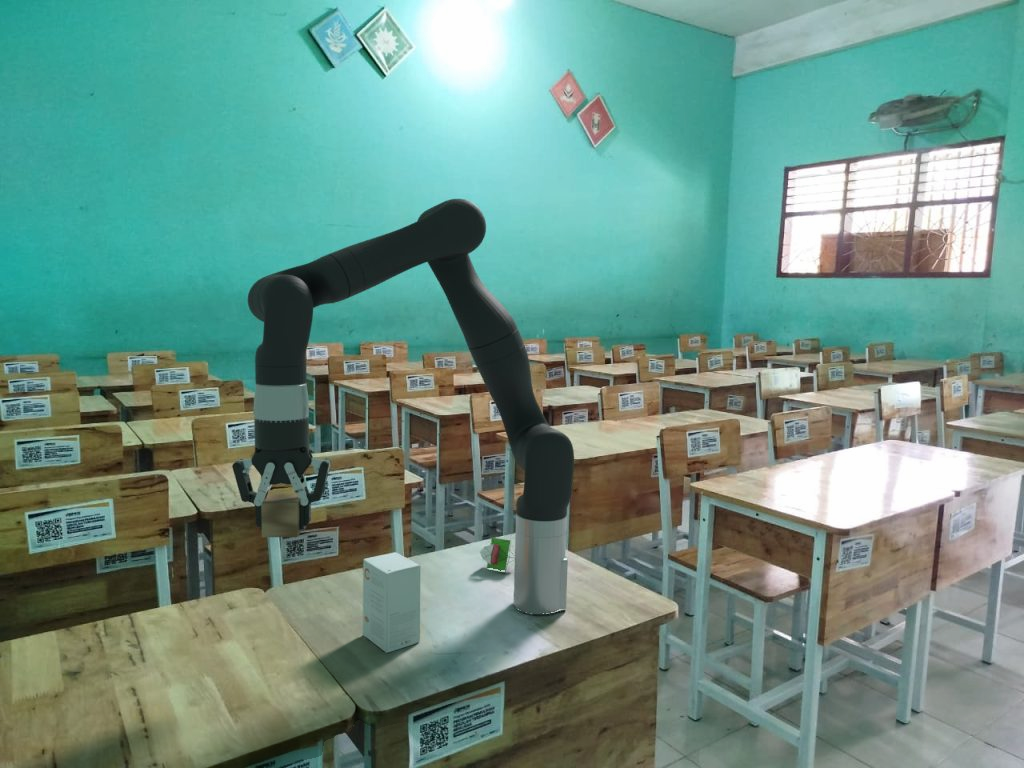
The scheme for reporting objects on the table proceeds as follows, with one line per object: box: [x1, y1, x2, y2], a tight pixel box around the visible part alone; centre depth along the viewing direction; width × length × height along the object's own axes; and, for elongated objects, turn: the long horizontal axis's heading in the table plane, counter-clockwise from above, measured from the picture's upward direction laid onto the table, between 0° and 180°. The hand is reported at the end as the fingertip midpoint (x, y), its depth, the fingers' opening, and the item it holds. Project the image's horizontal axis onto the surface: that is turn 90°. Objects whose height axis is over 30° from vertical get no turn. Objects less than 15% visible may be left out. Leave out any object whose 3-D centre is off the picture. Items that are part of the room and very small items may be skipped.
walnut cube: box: [261, 493, 303, 538], centre depth 104 cm, size 5×5×5 cm
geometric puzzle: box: [479, 537, 515, 571], centre depth 147 cm, size 7×7×8 cm
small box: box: [362, 551, 421, 653], centre depth 115 cm, size 8×6×13 cm
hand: (283, 528), depth 104 cm, fingers closed on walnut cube, 5 cm apart
